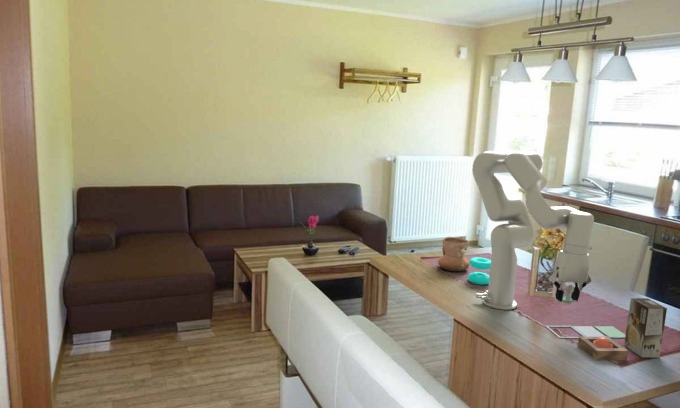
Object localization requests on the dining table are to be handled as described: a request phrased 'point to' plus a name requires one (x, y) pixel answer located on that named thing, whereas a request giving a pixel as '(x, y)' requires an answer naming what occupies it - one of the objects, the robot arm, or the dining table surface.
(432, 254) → the dining table surface
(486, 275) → the donuts
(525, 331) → the dining table surface
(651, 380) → the dining table surface
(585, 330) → the mid pad
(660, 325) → the coffee box
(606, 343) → the popper button
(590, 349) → the box
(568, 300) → the pacifier
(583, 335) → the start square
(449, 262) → the ceramic jug
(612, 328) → the pad
